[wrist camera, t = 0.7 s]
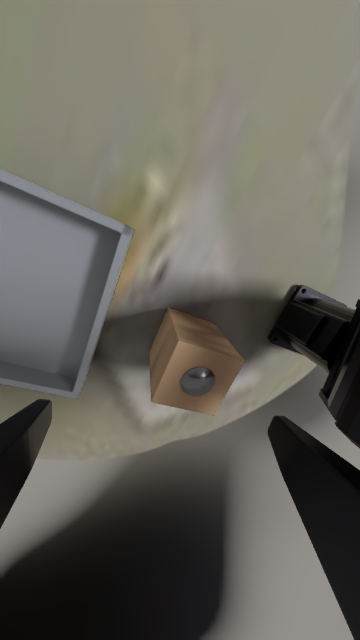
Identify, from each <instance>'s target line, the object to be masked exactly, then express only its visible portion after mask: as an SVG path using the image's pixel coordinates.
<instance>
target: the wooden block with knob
mask: <svg viewBox="0 0 360 640" xmlns="http://www.w3.org/2000/svg"><path fill="white" fill-rule="evenodd" d="M149 353H150V383H151V402H153V403H158V404H162V405H167V406H172V407H176V408H181V409H185V410H190V411H195V412H199V413H204V414H209V415H213V416H214V414H215V413H216V411H217V409H218V407H219V406H220V404H221V402H222V400H223V399H224V397H225V395H226V393H227V392H228V390H229V388H230V386H231V385H232V383H233V381H234V379H235V378H236V376H237V374H238V372H239V371H240V369H241V367H242V365H243V364H244V362H245V361H244V359H243V358H242V357H241V356H240V354H239V353H238V352H237V351H236V350H235V348H234V347H233V346H232V345H231V343H230V342H229V341H228V340H227V338H226V337H225V336H224V335H223V334H222V332H221V331H220V330H219V329H218V327H217V326H216V325H215V324H214V323H212V322H209V321H206V320H203V319H200V318H198V317H195V316H192V315H189V314H186V313H184V312H181V311H178V310H175V309H172V308H170V307H168V308H167V310H166V313H165V315H164V318H163V320H162V322H161V325H160V327H159V330H158V332H157V335H156V337H155V339H154V342H153V344H152V347H151V349H150V352H149Z"/></svg>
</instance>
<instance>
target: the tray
mask: <svg viewBox="0 0 360 640" xmlns="http://www.w3.org/2000/svg"><path fill="white" fill-rule="evenodd" d="M134 230H135V229H133V228H132V227H129V226H127V225H125V224H123V223H120V222H118V221H116V220H114V219H111V218H109V217H107V216H105V215H102V214H100V213H98V212H96V211H93V210H91V209H89V208H87V207H84V206H82V205H80V204H78V203H75V202H73V201H71V200H69V199H66V198H64V197H62V196H60V195H57V194H55V193H53V192H51V191H48V190H46V189H44V188H42V187H39V186H37V185H35V184H33V183H31V182H28V181H26V180H24V179H22V178H19V177H17V176H15V175H13V174H10V173H8V172H6V171H4V170H1V169H0V384H5V385H10V386H15V387H20V388H25V389H30V390H35V391H40V392H45V393H50V394H55V395H60V396H65V397H70V398H75V399H78V398H79V396H80V393H81V391H82V389H83V386H84V384H85V381H86V378H87V375H88V372H89V369H90V366H91V363H92V360H93V357H94V354H95V351H96V348H97V344H98V341H99V338H100V335H101V332H102V329H103V326H104V323H105V320H106V317H107V314H108V310H109V307H110V304H111V301H112V298H113V295H114V292H115V289H116V286H117V283H118V280H119V276H120V273H121V270H122V267H123V264H124V261H125V258H126V255H127V252H128V249H129V246H130V242H131V239H132V236H133V233H134Z"/></svg>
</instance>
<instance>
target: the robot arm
mask: <svg viewBox="0 0 360 640" xmlns="http://www.w3.org/2000/svg"><path fill="white" fill-rule="evenodd" d="M302 289H303V291H302ZM301 291H302V292H301ZM356 307H357V308H356V310H354V309H350V308H348V307H347V306H346V305H344V304H342V303H340V302H338V301H336V300H334V299H332V298H330V297H328V296H326V295H324V294H322V293H319V292H317V291H315V290H313V289H311V288H309V287H307V286H304V285H300V286H299V287H298V288H297V289H296V291H295V293H294V294H293V296H292V298H291V300H290V301H289V303H288V305H287V306H286V308H285V310H284V311H283V313H282V315H281V317H280V318H279V320H278V322H277V323H276V325H275V327H274V328H273V330H272V332H271V334H270V335H269V337H268V340H269V341H270V342H271V343H273V344H276V345H279V346H282V347H284V348H287V349H290V350H293V351H296V352H298V353H301V354H303V355H304V356H306V357H307V358H309V359H310V360H311V361H313V362H314V363H315V364H317V365H318V366H320V367H321V368H322V369H324V370H325V371H326V372H328V373H329V374H328V377H327V379H326V382H325V384H324V386H323V388H322V389H321V390H320V392H319V396H320V397H321V399H322V400H323V402H324V403H325V405H326V406H327V408H328V410H329V411H330V413H331V414H332V416H333V417H334V419H335V420H336V422H335V424H336V426H337V427H338V429H339V430H340V431H341V432H342V433H343V434H344V435H345V436H346V437H347V438H348V439H349V440H351V442H352V443H354V444H355V445H356V446H358V447H359V448H360V299H358V301H357V304H356ZM274 337H275V338H274ZM273 338H274V339H273ZM51 419H52V402H51V400H44V399H39V400H36V401H35V402H33V403H32V404H30V405H29V406H27V407H25V408H24V409H22V410H21V411H19V412H18V413H16V414H15V415H13V416H12V417H10V418H8V419H7V420H5V421H4V422H2V423H1V424H0V528H1V526H2V524H3V523H4V521H5V519H6V517H7V515H8V513H9V511H10V509H11V508H12V505H13V504H14V502H15V500H16V498H17V496H18V494H19V493H20V491H21V489H22V487H23V485H24V483H25V481H26V479H27V477H28V475H29V473H30V471H31V469H32V467H33V465H34V462H35V460H36V457H37V455H38V453H39V450H40V448H41V445H42V443H43V441H44V438H45V436H46V433H47V431H48V428H49V426H50V423H51ZM268 436H269V439H270V442H271V445H272V448H273V451H274V454H275V456H276V459H277V462H278V465H279V468H280V471H281V473H282V476H283V478H284V481H285V483H286V485H287V487H288V490H289V492H290V494H291V496H292V499H293V501H294V503H295V505H296V508H297V510H298V512H299V515H300V517H301V519H302V522H303V524H304V526H305V529H306V531H307V533H308V535H309V538H310V540H311V542H312V544H313V547H314V549H315V551H316V553H317V556H318V558H319V560H320V563H321V565H322V567H323V570H324V572H325V574H326V576H327V579H328V581H329V583H330V586H331V588H332V590H333V592H334V595H335V597H336V599H337V601H338V604H339V606H340V608H341V611H342V613H343V615H344V617H345V619H346V622H347V624H348V626H349V629H350V631H351V633H352V636H353V638H354V640H360V470H358V469H357V468H356V467H354V466H353V465H352V464H350V463H349V462H347V461H346V460H344V459H343V458H342V457H340V456H339V455H338V454H336V453H335V452H333V451H332V450H331V449H329V448H328V447H327V446H325V445H324V444H322V443H321V442H319V441H318V440H317V439H315V438H314V437H313V436H311V435H310V434H308V433H307V432H306V431H304V430H303V429H302V428H300V427H299V426H297V425H296V424H294V423H293V422H292V421H290V420H289V419H288V418H286V417H285V416H277V415H276V416H274V417H273V419H272V421H271V423H270V426H269V428H268Z"/></svg>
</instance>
